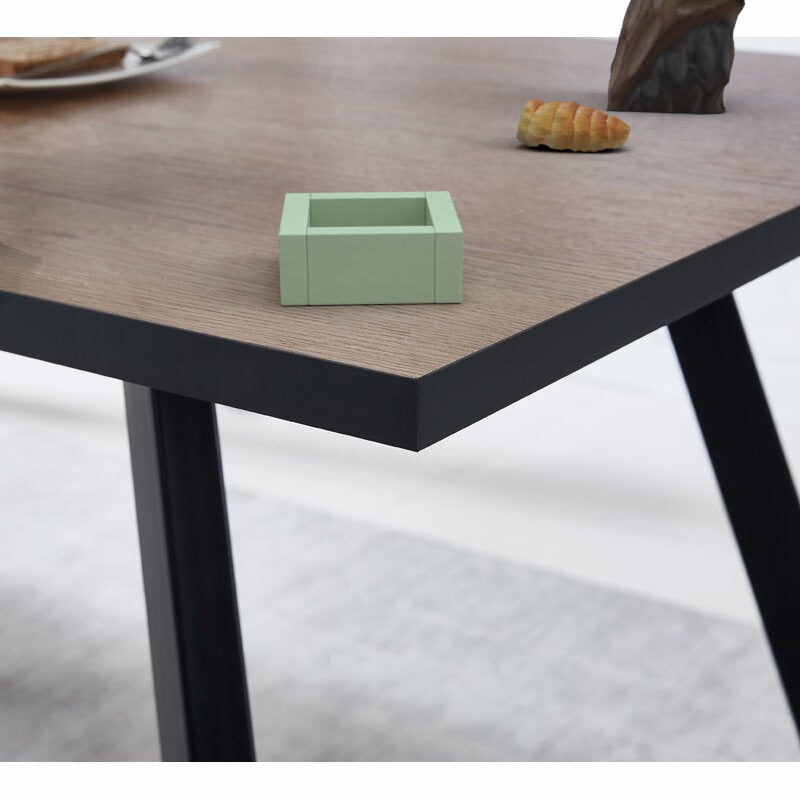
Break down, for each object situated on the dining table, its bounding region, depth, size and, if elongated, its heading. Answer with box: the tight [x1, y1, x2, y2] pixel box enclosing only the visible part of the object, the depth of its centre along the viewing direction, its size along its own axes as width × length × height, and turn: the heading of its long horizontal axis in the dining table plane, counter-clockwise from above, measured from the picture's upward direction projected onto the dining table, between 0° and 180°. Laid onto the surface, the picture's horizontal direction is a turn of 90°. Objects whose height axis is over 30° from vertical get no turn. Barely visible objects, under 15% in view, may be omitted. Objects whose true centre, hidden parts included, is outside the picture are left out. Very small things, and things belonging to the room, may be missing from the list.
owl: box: [606, 0, 746, 115], centre depth 130 cm, size 13×13×20 cm
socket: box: [277, 190, 464, 307], centre depth 75 cm, size 10×10×4 cm
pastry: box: [515, 98, 631, 153], centre depth 112 cm, size 9×7×4 cm
